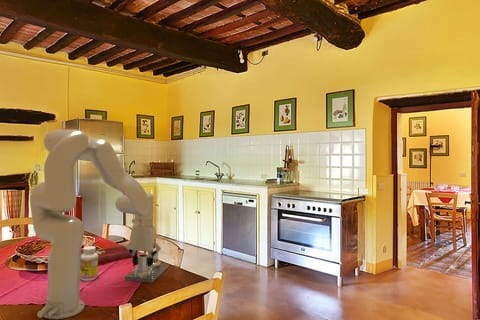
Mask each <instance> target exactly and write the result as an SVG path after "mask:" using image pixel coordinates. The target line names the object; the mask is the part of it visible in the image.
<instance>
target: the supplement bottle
mask: <svg viewBox="0 0 480 320" xmlns="http://www.w3.org/2000/svg"><path fill="white" fill-rule="evenodd" d="M96 248H97V247H96V246H93V245H89V246H88V245H87V246H84V247H83V249H82V252H84V253H83V254H82V253H81V257H80V281H82V282H83V281H84V282H91V281H93V280H95V279H97V278H98V274H99V273H98V269H99V265H98V254H97V253H95V250H97V249H96Z"/></svg>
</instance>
